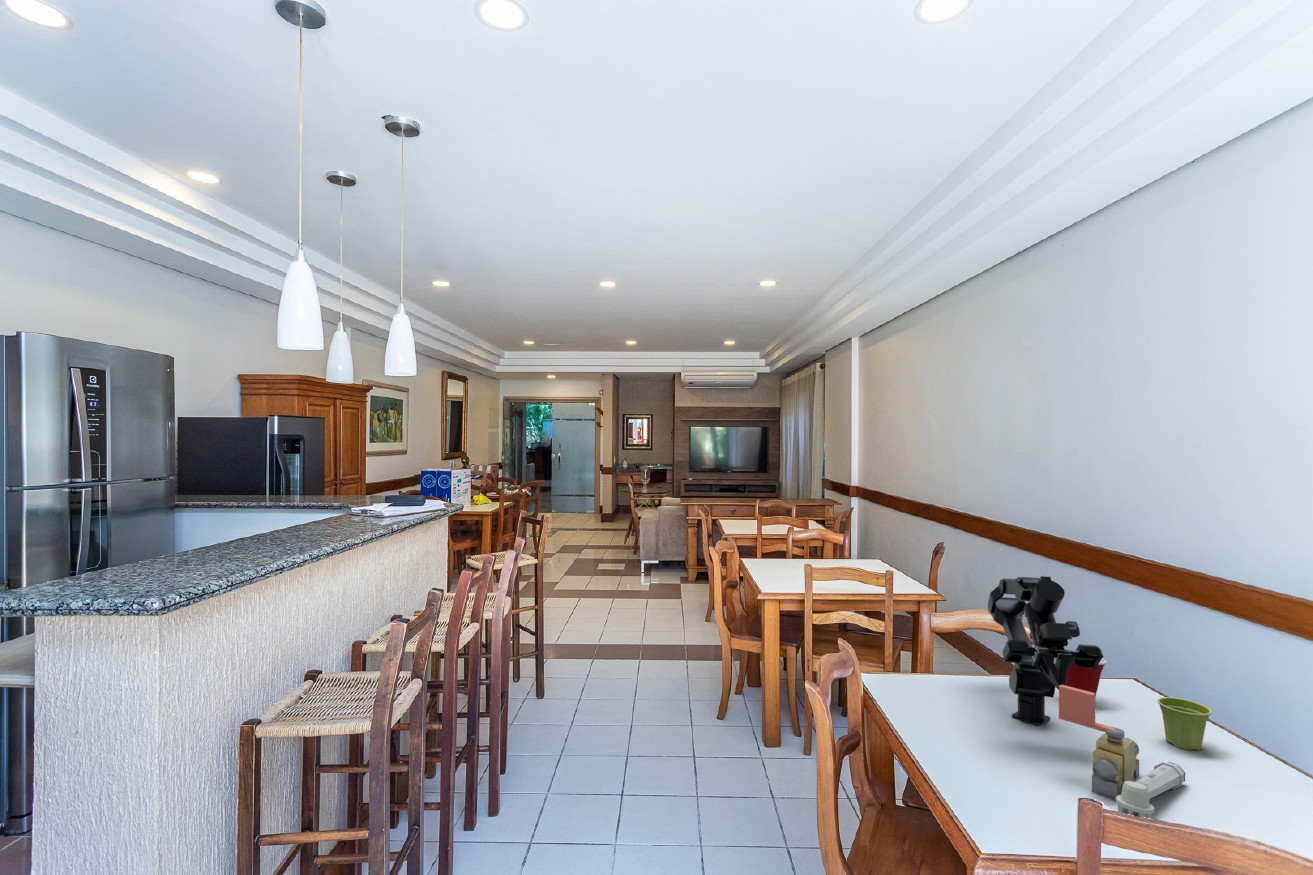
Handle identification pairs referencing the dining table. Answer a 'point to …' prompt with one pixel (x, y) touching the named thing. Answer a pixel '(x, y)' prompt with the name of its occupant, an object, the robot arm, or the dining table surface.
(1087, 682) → the plastic cup
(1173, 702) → the plant pot
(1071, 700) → the lever
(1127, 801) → the white flashlight
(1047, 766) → the dining table surface
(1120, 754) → the valve
